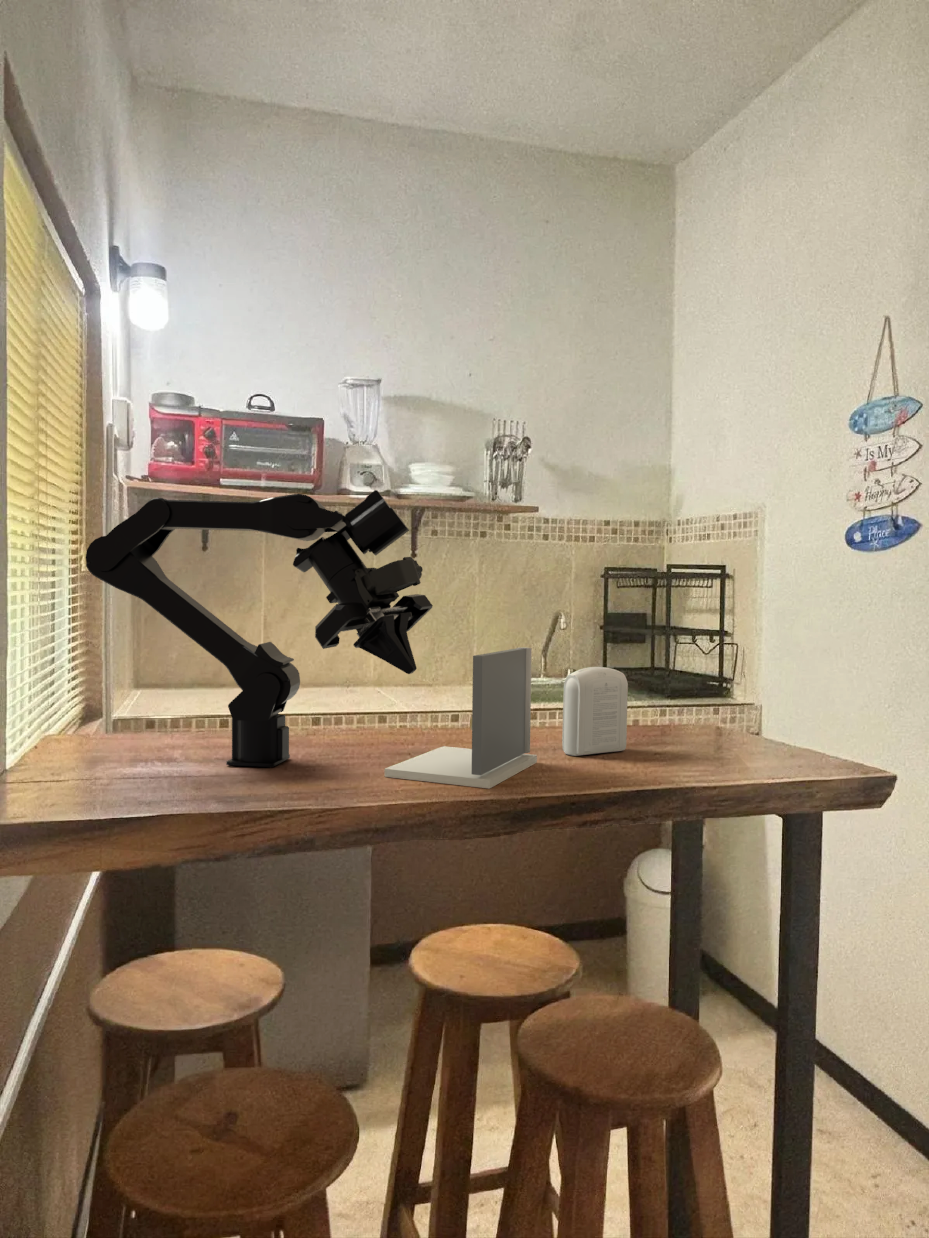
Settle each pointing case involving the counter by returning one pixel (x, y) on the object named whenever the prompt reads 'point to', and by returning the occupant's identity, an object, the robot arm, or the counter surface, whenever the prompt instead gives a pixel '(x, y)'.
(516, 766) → the board
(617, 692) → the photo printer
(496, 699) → the door
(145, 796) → the counter surface
